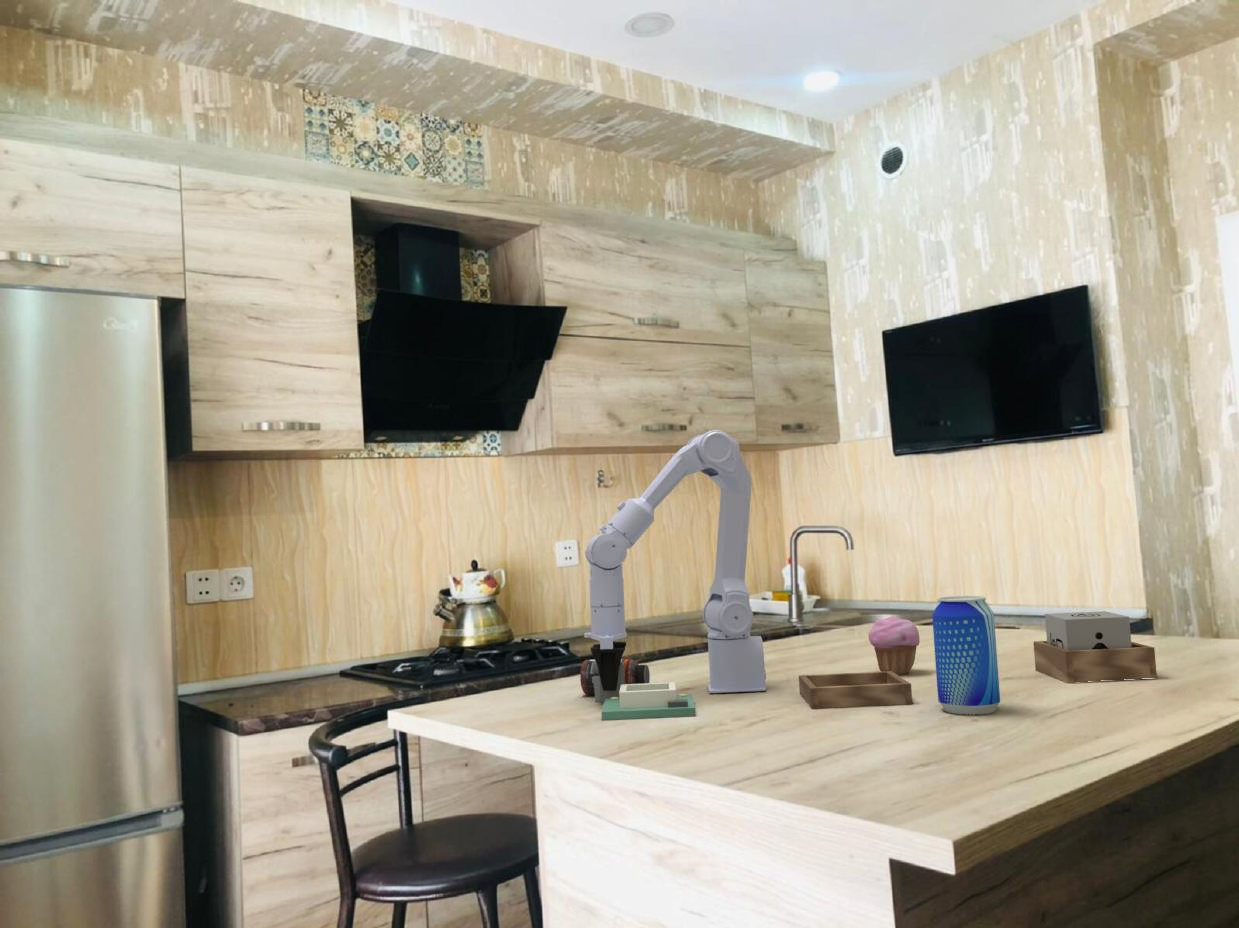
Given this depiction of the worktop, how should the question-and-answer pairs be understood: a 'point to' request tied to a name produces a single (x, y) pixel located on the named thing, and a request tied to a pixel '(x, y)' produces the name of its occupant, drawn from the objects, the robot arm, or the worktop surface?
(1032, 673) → the worktop surface
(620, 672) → the plug
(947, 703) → the beer can
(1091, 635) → the icon cube
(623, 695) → the frame
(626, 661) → the supplement bottle
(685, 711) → the board
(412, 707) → the worktop surface
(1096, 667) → the cube crate
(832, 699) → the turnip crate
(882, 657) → the cupcake
